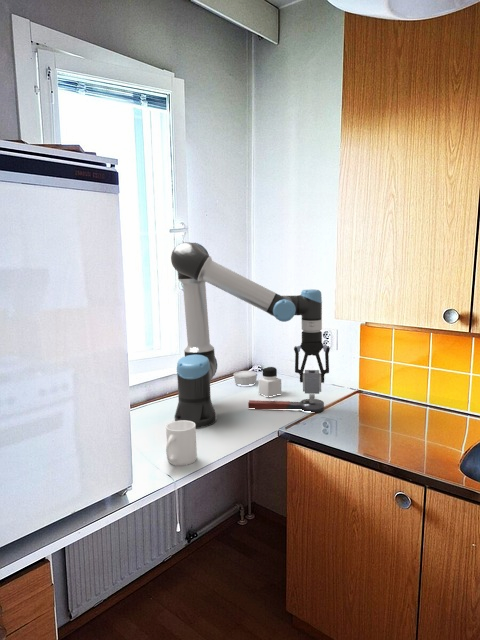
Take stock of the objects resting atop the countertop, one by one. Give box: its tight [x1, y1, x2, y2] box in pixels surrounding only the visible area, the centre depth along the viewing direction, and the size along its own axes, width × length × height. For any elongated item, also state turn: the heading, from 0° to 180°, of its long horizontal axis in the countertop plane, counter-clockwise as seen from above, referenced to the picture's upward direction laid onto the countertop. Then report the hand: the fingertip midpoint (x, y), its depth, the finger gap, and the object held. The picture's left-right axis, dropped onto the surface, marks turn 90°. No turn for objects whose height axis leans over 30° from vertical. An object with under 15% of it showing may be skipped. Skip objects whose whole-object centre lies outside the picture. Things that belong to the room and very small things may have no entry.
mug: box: [165, 420, 198, 467], centre depth 135 cm, size 9×12×11 cm
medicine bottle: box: [257, 366, 282, 397], centre depth 199 cm, size 7×7×12 cm
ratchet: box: [247, 394, 325, 414], centre depth 180 cm, size 29×9×6 cm, turn 81°
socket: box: [304, 369, 320, 395], centre depth 177 cm, size 5×5×8 cm
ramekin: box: [233, 370, 258, 385], centre depth 217 cm, size 11×11×5 cm
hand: (312, 390), depth 178 cm, fingers closed on socket, 5 cm apart
